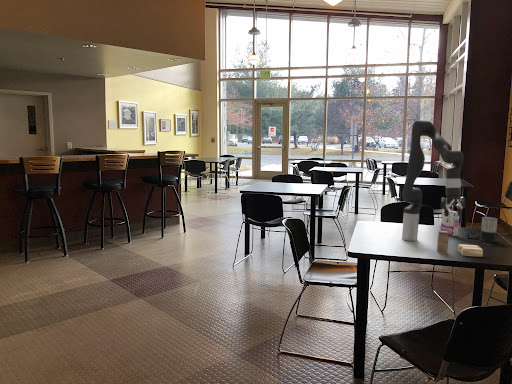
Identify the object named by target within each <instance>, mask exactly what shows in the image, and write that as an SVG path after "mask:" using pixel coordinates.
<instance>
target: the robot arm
mask: <svg viewBox="0 0 512 384" xmlns="http://www.w3.org/2000/svg"><path fill="white" fill-rule="evenodd" d="M422 137H428V138H429V139H431V144H432V146H433V147H432V148H434V149H435V150H436V151H437V152H438V153H439V155H440V157H441V159H442V161H443V162H444V163H446V164H451V165H452V166H451V167H449V168H447V169H446V171H445V172H446V173H445V176H446V177H445V178H446V179H445V196H446V197H441V199H440V208H441V209H442V210H444V215H445V216H447V217H448V216H449V210H450V209H449V208H450V207H451V206H456V208H457V212H458V216H460V217H461V216H463V209H466V197H465V196H461V195H462V193H461V192H462V185H461V184H462V182H461V170H462V166H463V162H464V158H465V157H464V153H463V152H462V151H461V150H452V146H451V144H450V143H449V142H448V141H447V140H445V139H444V137H442V135H441V134H440V133H439V131H438V130H437V128H436V127H435V125H434V124H433V122H431V121H429V120H420V119H419V120H417V119H416V120H415V121H414V122H413V124H412V128H411V138H410V139H411V140H410V150H409V157H408V160H407V161H408V162H407V170H406V177H405V181H404V185H403V189H402V193H401V196H402V197H401V198H402V201H403V202H404V203H409V205H408V206H406V207H404V208H403V216H402V217H403V219H402V234H401V239H402V240H403V241H409V242H411V241H412V242H417V241H418V234H419V222H420V211H421V208H422V202H423V201H422V200H423V192H422V189H421V188H419V187H414V186H415V183H416V182H415V181H416V180H417V179H418V177H419V176H420V174H421V173H422V171H423V170H424V167H425V154H424V151H423V148H422V146H421V138H422Z"/></svg>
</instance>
